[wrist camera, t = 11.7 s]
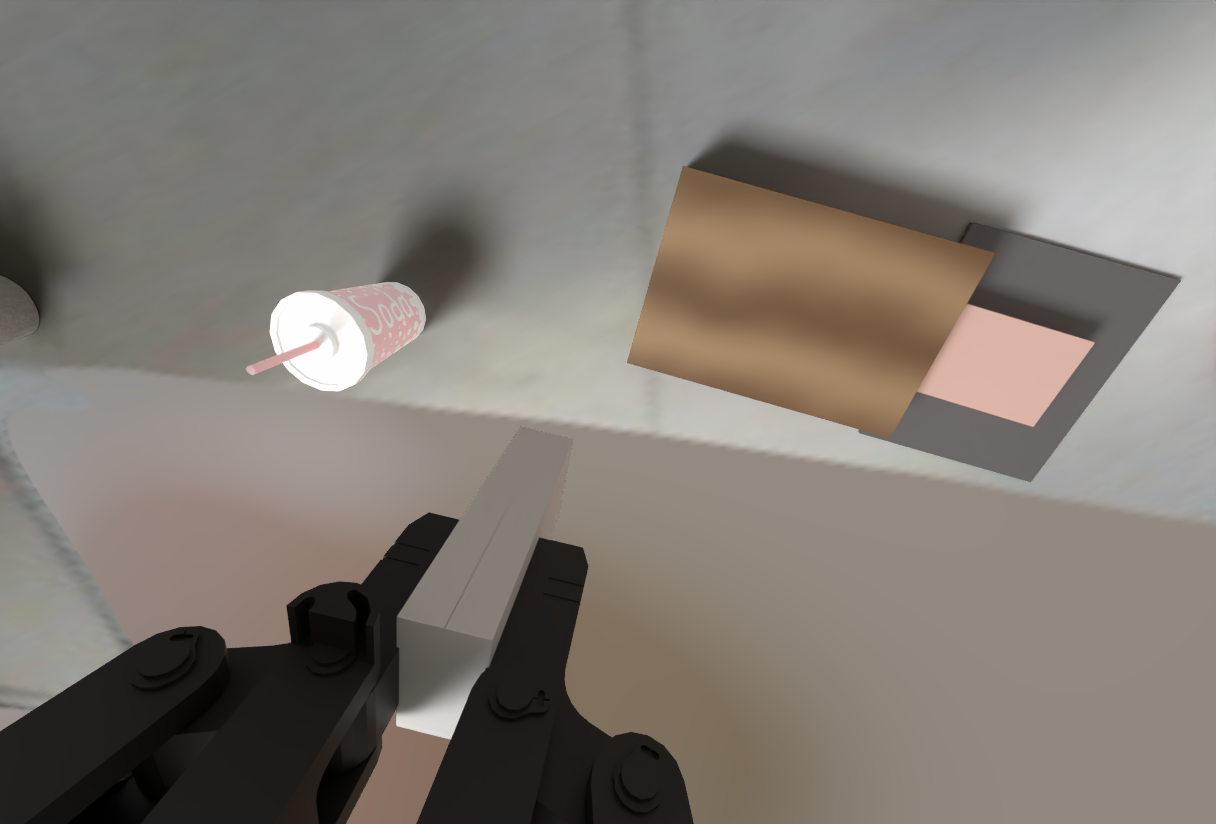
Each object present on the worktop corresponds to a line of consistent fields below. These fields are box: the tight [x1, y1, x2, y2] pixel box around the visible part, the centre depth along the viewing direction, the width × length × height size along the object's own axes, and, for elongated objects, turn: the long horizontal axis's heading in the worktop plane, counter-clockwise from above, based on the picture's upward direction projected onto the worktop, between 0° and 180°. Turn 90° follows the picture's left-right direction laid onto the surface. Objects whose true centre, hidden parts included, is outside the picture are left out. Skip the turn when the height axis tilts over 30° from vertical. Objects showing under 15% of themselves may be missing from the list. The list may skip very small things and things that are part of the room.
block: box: [917, 303, 1095, 427], centre depth 32 cm, size 6×9×2 cm, turn 74°
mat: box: [858, 223, 1181, 482], centre depth 33 cm, size 15×13×1 cm
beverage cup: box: [246, 282, 426, 391], centre depth 30 cm, size 6×6×14 cm
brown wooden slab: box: [627, 166, 995, 438], centre depth 31 cm, size 12×18×4 cm, turn 76°
